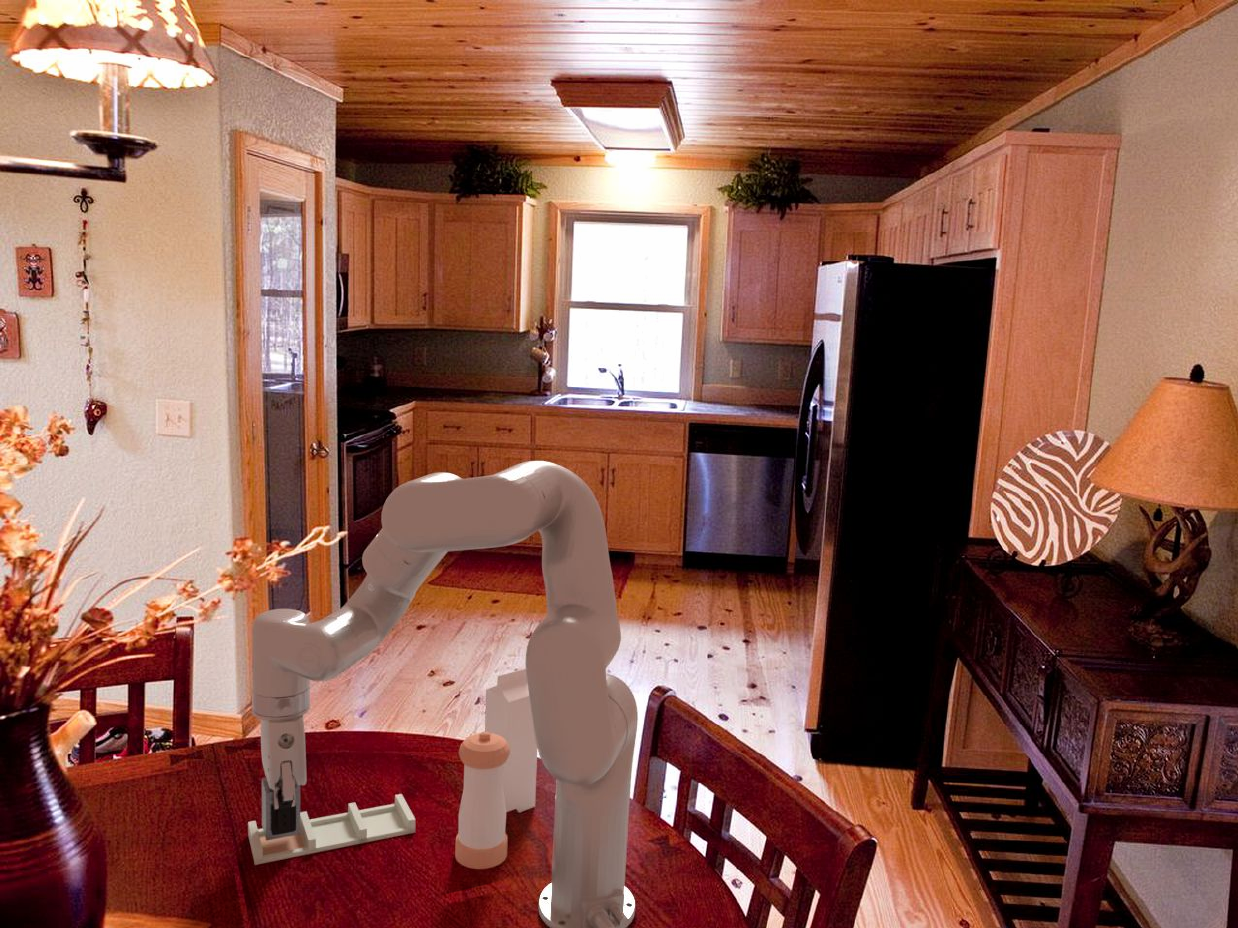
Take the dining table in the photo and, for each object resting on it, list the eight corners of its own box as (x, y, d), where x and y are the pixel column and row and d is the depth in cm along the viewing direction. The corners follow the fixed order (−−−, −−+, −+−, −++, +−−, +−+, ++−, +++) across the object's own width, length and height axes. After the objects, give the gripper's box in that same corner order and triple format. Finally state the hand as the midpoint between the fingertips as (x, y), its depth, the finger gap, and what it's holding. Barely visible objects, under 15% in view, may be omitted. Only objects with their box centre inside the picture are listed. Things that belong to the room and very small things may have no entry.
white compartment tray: (415, 838, 139) (415, 819, 139) (254, 871, 129) (254, 850, 129) (401, 811, 146) (401, 793, 146) (248, 841, 136) (248, 821, 136)
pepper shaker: (457, 878, 130) (461, 745, 127) (452, 848, 137) (455, 722, 134) (510, 872, 132) (515, 742, 129) (502, 843, 139) (507, 719, 136)
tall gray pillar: (300, 833, 133) (300, 787, 132) (266, 840, 131) (265, 793, 130) (295, 818, 137) (295, 772, 136) (261, 824, 135) (261, 778, 134)
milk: (535, 807, 150) (541, 673, 147) (504, 819, 146) (510, 682, 142) (512, 791, 154) (518, 661, 151) (481, 802, 150) (486, 669, 147)
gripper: (320, 720, 126) (319, 848, 128) (299, 674, 140) (299, 790, 143) (259, 728, 122) (260, 860, 125) (245, 680, 137) (245, 799, 140)
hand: (281, 821), depth 134 cm, fingers closed on tall gray pillar, 4 cm apart
